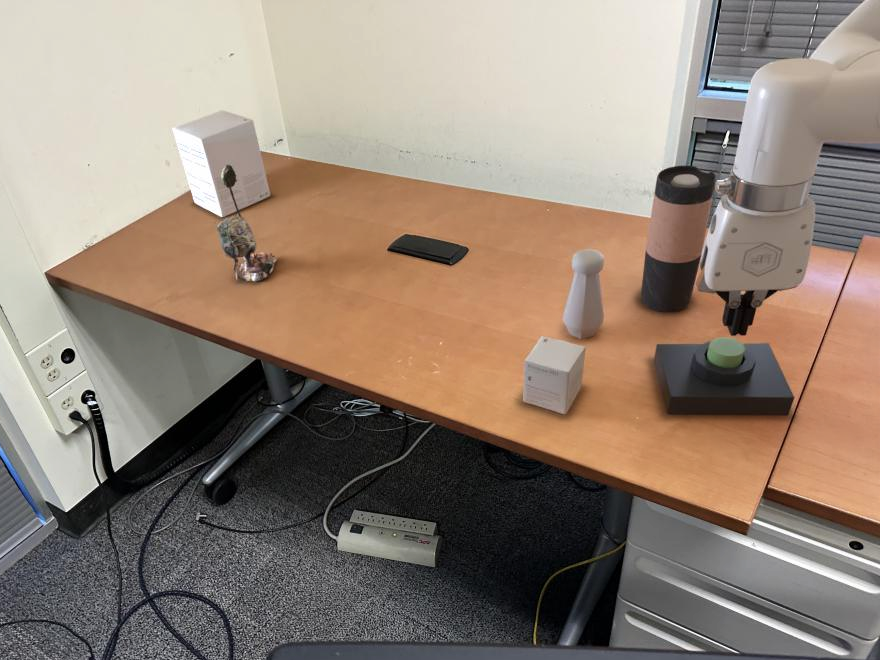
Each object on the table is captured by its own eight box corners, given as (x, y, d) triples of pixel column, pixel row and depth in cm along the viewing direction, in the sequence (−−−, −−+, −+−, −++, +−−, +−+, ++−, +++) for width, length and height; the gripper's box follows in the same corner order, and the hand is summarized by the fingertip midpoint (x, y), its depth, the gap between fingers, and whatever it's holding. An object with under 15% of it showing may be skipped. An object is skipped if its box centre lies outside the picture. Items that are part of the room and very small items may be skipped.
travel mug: (640, 312, 104) (658, 188, 92) (637, 286, 110) (654, 165, 97) (694, 314, 102) (721, 187, 90) (688, 286, 108) (713, 164, 95)
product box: (521, 402, 92) (522, 359, 88) (539, 376, 96) (541, 334, 91) (566, 416, 89) (569, 372, 85) (582, 388, 93) (586, 345, 88)
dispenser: (763, 360, 93) (772, 330, 89) (788, 415, 84) (799, 384, 81) (653, 361, 95) (658, 331, 92) (667, 414, 87) (673, 384, 84)
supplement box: (241, 183, 164) (222, 108, 153) (271, 196, 156) (254, 118, 145) (193, 203, 158) (170, 127, 147) (222, 218, 150) (200, 139, 139)
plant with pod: (218, 282, 128) (186, 181, 116) (258, 254, 135) (233, 155, 122) (249, 292, 124) (220, 187, 111) (289, 262, 131) (266, 161, 118)
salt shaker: (607, 324, 103) (616, 247, 95) (596, 345, 100) (604, 267, 91) (568, 316, 106) (574, 241, 98) (556, 337, 102) (561, 260, 94)
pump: (736, 349, 88) (740, 336, 87) (745, 369, 85) (748, 356, 84) (703, 350, 89) (706, 337, 88) (710, 369, 86) (713, 356, 85)
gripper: (700, 208, 71) (675, 349, 83) (862, 198, 68) (813, 346, 80) (686, 178, 77) (665, 313, 88) (835, 168, 74) (793, 310, 85)
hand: (735, 328), depth 84 cm, fingers closed
